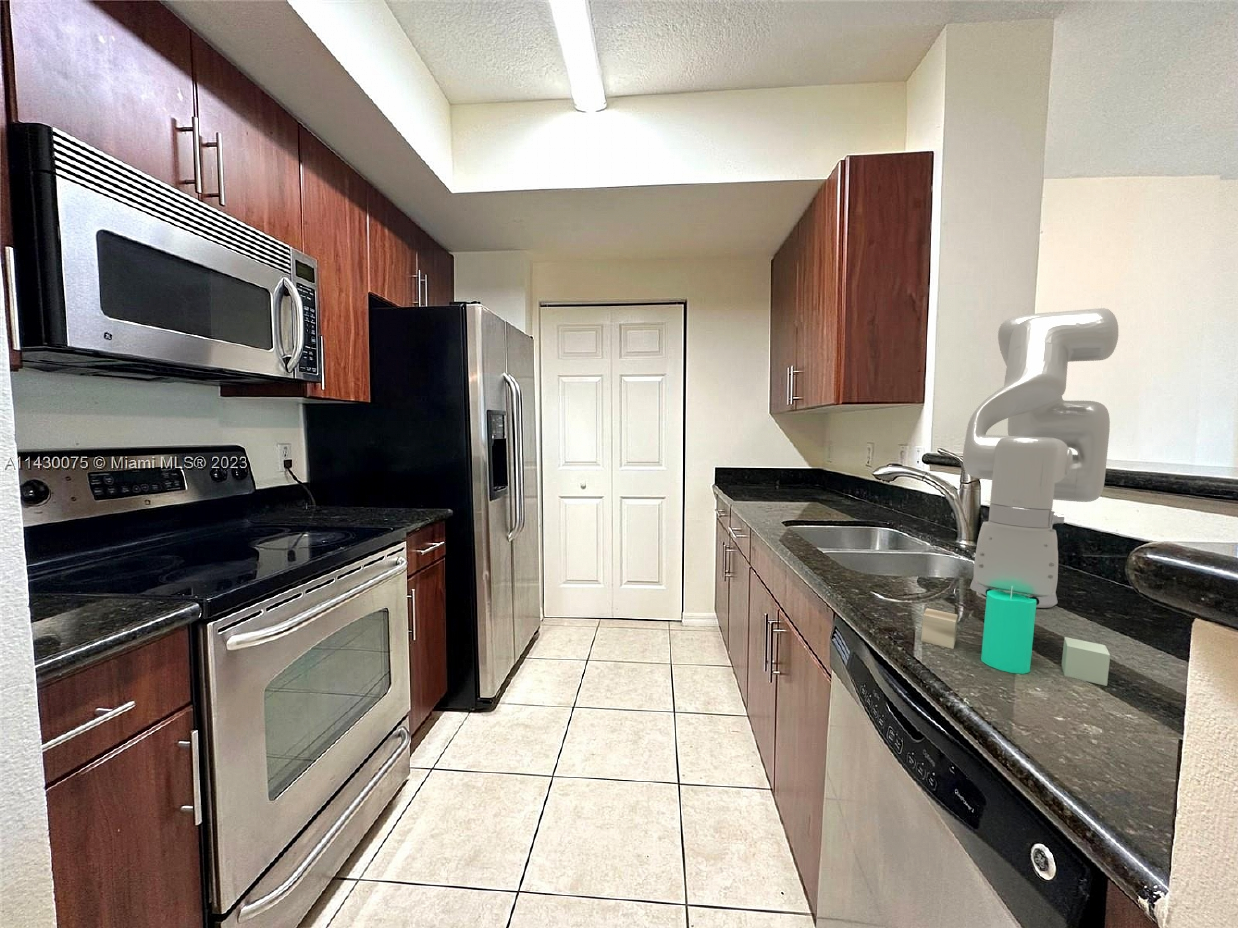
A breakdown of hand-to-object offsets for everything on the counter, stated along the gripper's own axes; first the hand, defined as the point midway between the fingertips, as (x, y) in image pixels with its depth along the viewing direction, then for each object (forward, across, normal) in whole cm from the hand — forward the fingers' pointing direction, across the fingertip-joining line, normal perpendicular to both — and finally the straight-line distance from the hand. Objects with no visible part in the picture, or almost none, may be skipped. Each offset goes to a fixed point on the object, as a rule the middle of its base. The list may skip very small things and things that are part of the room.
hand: (1008, 634), depth 80 cm
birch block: (+4, +9, 0) cm, 10 cm away
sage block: (+4, -9, 0) cm, 10 cm away
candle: (+4, 0, +4) cm, 5 cm away
